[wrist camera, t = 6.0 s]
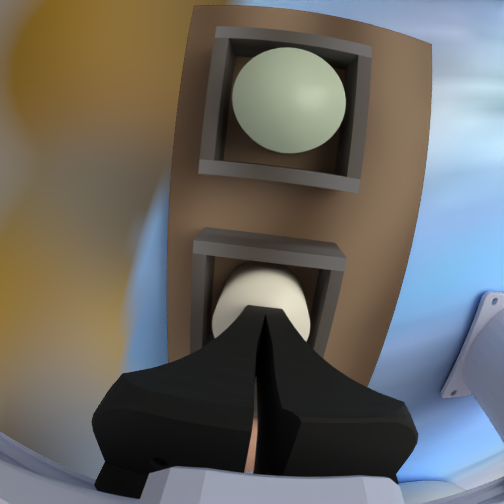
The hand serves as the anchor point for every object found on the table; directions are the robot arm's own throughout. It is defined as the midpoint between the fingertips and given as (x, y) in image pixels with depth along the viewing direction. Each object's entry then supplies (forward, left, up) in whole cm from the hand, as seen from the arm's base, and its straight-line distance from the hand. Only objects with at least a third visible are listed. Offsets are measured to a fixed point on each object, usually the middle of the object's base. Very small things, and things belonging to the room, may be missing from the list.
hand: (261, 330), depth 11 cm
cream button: (0, 0, -3) cm, 3 cm away
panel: (-1, 0, -4) cm, 4 cm away
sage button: (0, -8, -3) cm, 8 cm away
